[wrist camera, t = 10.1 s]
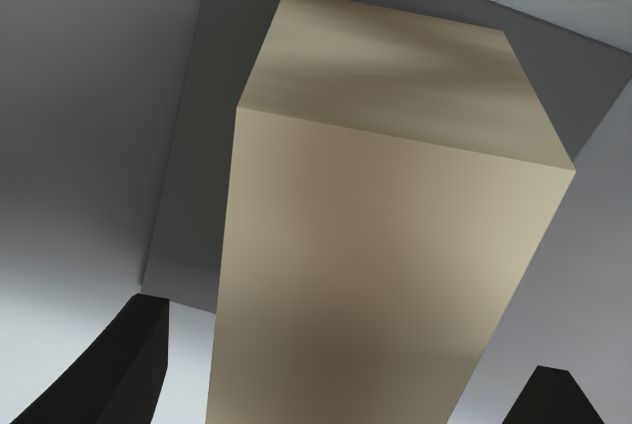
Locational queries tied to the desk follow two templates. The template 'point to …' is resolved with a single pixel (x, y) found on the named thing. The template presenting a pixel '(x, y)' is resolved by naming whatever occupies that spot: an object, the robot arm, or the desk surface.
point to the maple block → (375, 215)
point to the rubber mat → (231, 78)
